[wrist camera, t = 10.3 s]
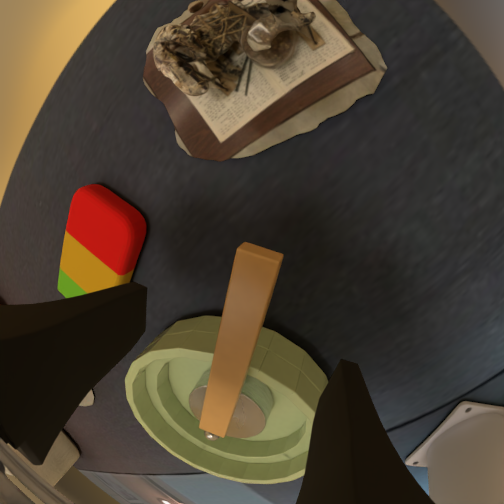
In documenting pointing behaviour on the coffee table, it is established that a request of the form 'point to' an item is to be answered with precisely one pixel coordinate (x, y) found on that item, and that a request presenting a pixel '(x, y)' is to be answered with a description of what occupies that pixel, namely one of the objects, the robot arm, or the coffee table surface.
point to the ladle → (238, 351)
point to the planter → (55, 459)
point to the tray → (257, 72)
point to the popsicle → (99, 242)
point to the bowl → (187, 425)
